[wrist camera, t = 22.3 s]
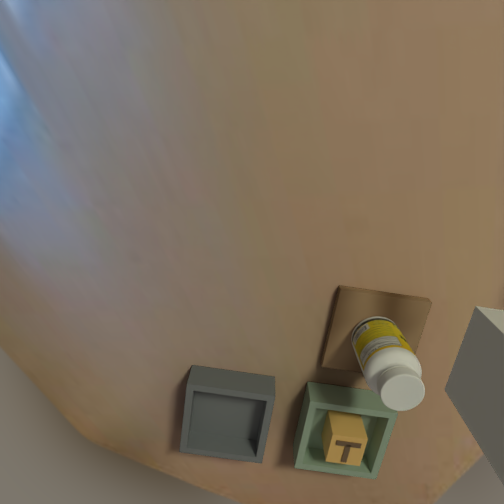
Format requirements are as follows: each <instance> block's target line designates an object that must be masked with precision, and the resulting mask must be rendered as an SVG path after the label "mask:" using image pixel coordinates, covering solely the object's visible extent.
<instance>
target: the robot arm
mask: <svg viewBox="0 0 504 504" xmlns="http://www.w3.org/2000/svg"><path fill="white" fill-rule="evenodd" d="M445 391H446V393H447V394H448V396H449V398H450V399H451V401H452V402H453V404H454V406H455V407H456V409H457V411H458V412H459V414H460V415H461V417H462V419H463V420H464V422H465V423H466V425H467V427H468V428H469V430H470V432H471V433H472V435H473V436H474V438H475V440H476V441H477V443H478V445H479V446H480V448H481V449H482V451H483V453H484V454H485V456H486V457H487V459H488V460H489V462H490V464H491V466H492V467H493V469H494V470H495V472H496V474H497V475H498V477H499V478H500V480H501V482H502V483H503V485H504V310H498V309H491V308H484V307H478V306H475V309H474V312H473V315H472V317H471V320H470V323H469V325H468V328H467V331H466V333H465V336H464V339H463V341H462V344H461V347H460V349H459V352H458V355H457V358H456V360H455V363H454V366H453V368H452V371H451V374H450V376H449V379H448V382H447V384H446V387H445Z"/></svg>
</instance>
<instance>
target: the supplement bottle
mask: <svg viewBox="0 0 504 504" xmlns="http://www.w3.org/2000/svg"><path fill="white" fill-rule="evenodd" d="M351 341H352V346H353V349H354V352H355V354H356V357H357V359H358V362H359V365H360V367H361V370H362V373H363V375H364V378H365V380H366V383H367V385H368V386H369V388H370V389H371V390H372V391H373V392H374V393H376V394H378V395H379V396H380V398H381V400H382V402H383V403H384V405H386V406H387V407H388V408H390V409H392V410H396V411H406V410H409V409H412V408H414V407H416V406H417V405H418V404H419V403H420V402H421V401H422V399H423V397H424V394H425V387H424V384H423V382H422V380H421V373H422V371H421V365H420V363H419V361H418V359H417V357H416V356H415V354H414V352H413V351H412V349H411V348H410V346H409V344H408V343H407V341H406V339H405V338H404V336H403V334H402V333H401V331H400V329H399V328H398V327H397V325H396V324H395V323H394V322H393V321H391V320H390V319H388V318H385V317H380V316H375V317H369V318H367V319H364V320H363V321H361V322H360V323H359V324H358V325H357V326H356V327H355V328H354V330H353V333H352V337H351Z"/></svg>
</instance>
